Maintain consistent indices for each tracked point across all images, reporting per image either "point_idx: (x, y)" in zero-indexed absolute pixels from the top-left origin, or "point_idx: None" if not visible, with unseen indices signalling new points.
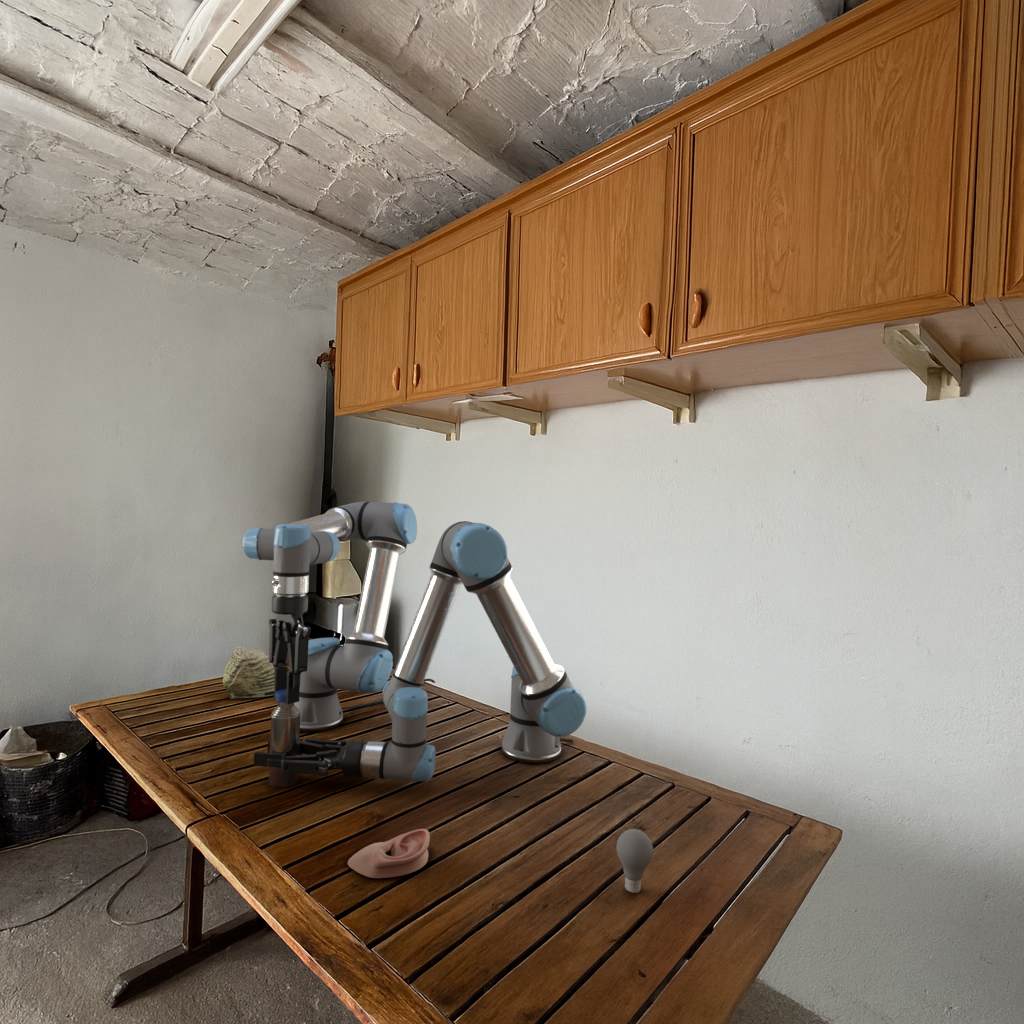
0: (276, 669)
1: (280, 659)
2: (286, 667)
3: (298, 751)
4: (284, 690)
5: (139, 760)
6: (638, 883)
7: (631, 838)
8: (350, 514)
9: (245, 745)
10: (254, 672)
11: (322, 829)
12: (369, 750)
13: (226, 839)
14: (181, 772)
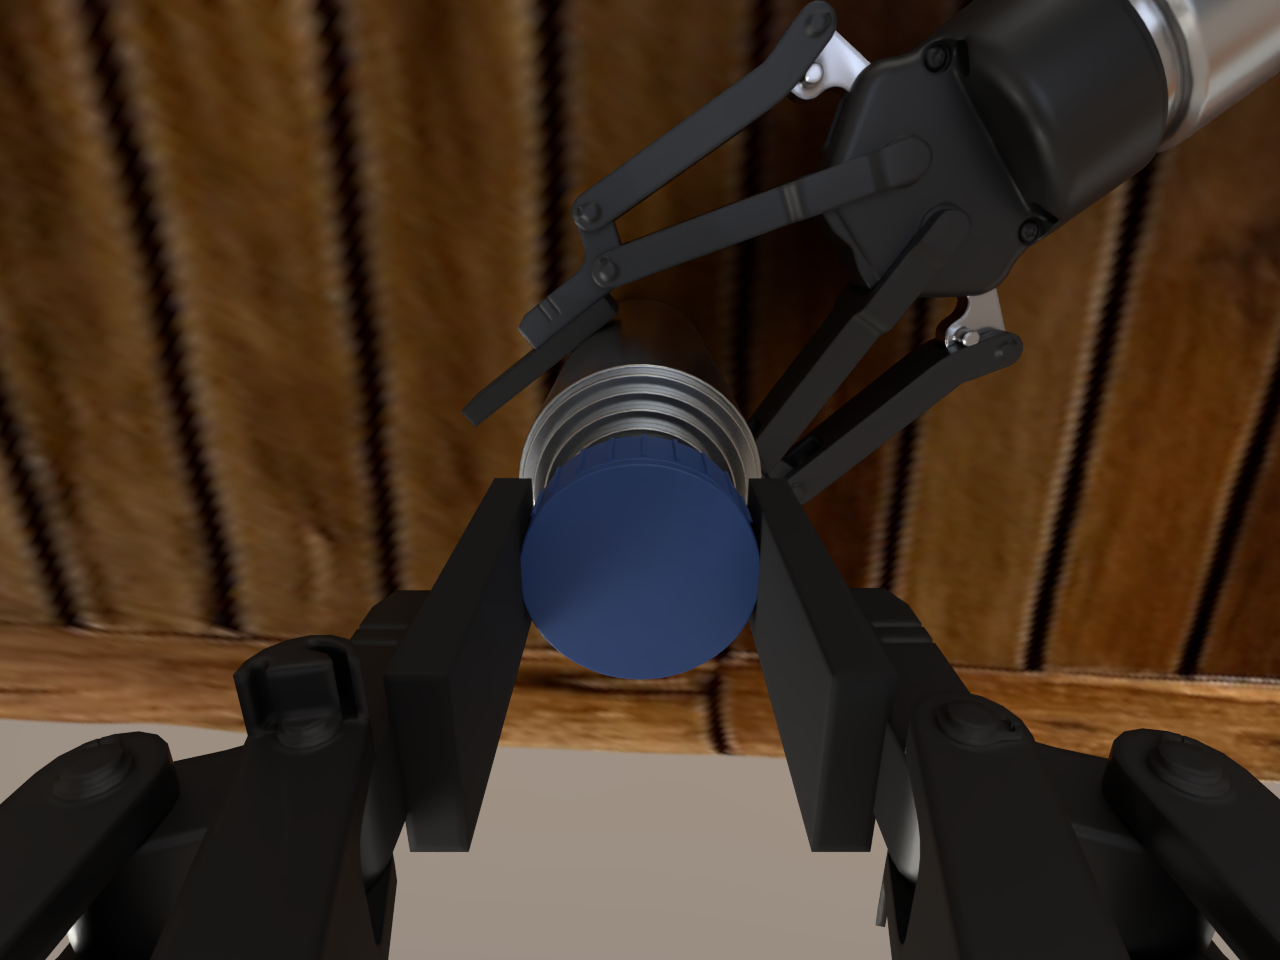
0: (466, 850)
1: (372, 944)
2: (442, 693)
3: (704, 347)
4: (579, 573)
5: (49, 690)
6: None
7: None
8: None
9: (81, 283)
10: None
11: (1123, 474)
12: (1242, 76)
13: None
14: (270, 625)
